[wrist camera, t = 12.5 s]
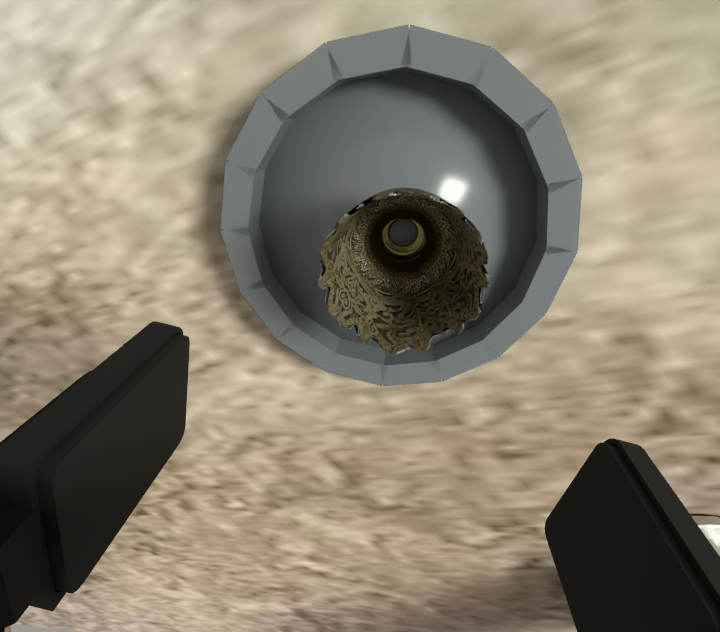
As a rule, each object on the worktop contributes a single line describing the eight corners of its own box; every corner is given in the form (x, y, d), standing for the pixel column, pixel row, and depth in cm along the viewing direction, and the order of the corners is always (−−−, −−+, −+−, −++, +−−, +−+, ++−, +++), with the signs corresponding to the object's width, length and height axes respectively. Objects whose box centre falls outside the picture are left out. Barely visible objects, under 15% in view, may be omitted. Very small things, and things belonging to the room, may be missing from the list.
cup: (377, 307, 27) (367, 377, 20) (319, 208, 25) (284, 247, 18) (485, 257, 25) (517, 315, 18) (433, 142, 22) (446, 157, 15)
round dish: (490, 393, 30) (497, 417, 28) (223, 326, 30) (208, 344, 27) (635, 90, 21) (664, 87, 19) (254, -13, 21) (236, -28, 18)
